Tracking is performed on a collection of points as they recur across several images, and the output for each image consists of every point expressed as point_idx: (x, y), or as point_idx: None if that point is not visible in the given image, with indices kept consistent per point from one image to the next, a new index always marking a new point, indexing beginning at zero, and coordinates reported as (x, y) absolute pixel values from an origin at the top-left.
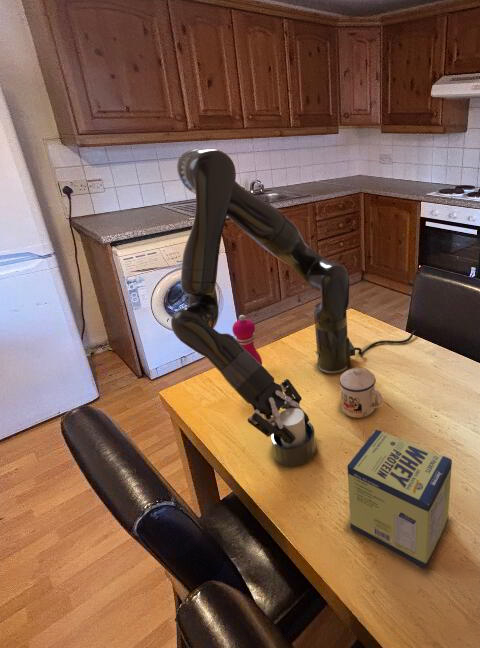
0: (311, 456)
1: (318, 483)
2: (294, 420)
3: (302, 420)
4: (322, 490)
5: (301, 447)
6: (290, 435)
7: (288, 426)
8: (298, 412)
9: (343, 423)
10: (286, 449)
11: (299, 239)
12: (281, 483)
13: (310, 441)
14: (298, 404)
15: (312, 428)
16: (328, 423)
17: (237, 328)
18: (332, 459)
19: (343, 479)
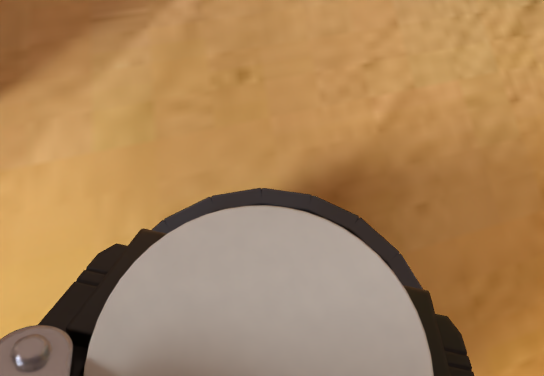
0: None
1: (458, 160)
2: (330, 299)
3: (294, 212)
4: (490, 133)
5: (390, 247)
6: (432, 323)
7: (424, 352)
8: (176, 294)
9: (23, 126)
10: None
11: None
12: (514, 355)
13: (318, 199)
14: (19, 340)
15: (190, 215)
16: (20, 210)
17: None
18: (297, 128)
19: (406, 58)
